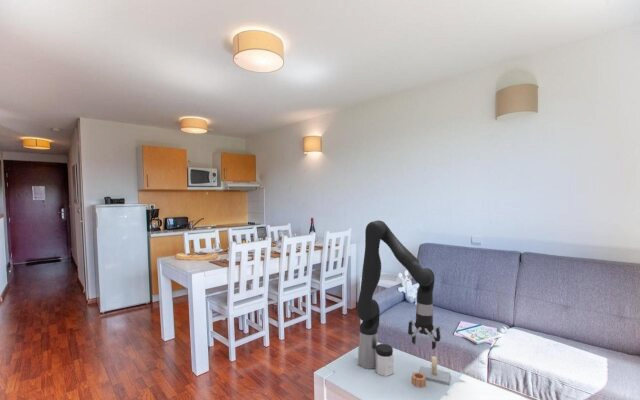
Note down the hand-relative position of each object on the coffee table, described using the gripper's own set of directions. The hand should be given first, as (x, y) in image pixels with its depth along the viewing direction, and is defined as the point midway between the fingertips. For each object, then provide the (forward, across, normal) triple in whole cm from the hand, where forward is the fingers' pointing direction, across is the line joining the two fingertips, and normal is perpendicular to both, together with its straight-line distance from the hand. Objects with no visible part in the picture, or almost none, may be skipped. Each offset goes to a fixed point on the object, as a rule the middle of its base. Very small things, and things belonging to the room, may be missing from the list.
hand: (423, 346), depth 146 cm
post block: (+17, +3, +8) cm, 19 cm away
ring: (+17, -2, -2) cm, 17 cm away
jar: (+18, -19, 0) cm, 26 cm away
